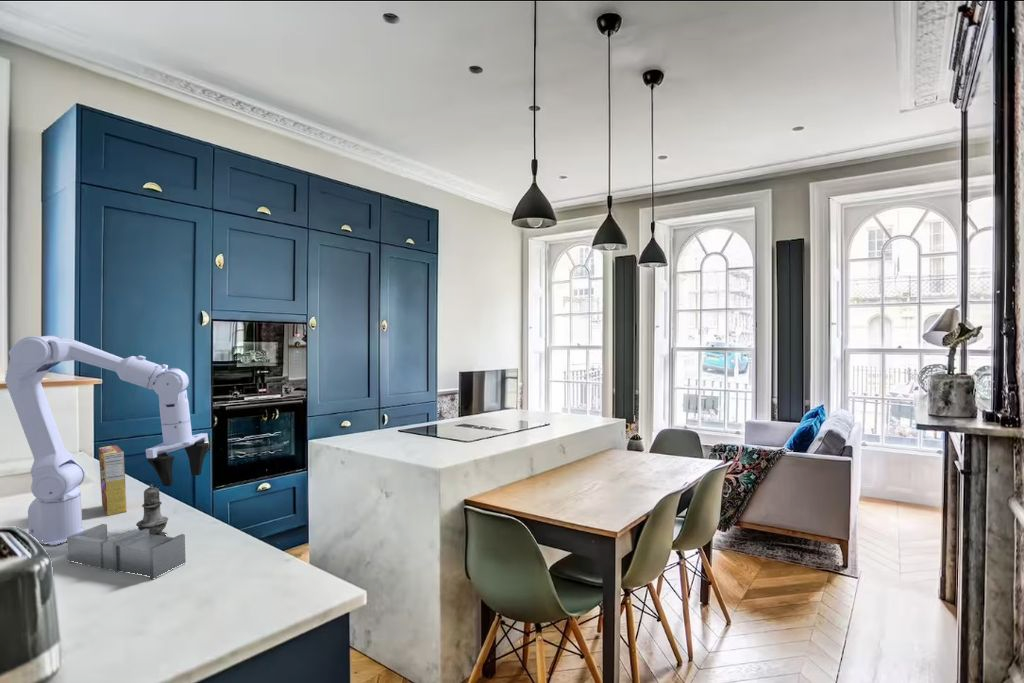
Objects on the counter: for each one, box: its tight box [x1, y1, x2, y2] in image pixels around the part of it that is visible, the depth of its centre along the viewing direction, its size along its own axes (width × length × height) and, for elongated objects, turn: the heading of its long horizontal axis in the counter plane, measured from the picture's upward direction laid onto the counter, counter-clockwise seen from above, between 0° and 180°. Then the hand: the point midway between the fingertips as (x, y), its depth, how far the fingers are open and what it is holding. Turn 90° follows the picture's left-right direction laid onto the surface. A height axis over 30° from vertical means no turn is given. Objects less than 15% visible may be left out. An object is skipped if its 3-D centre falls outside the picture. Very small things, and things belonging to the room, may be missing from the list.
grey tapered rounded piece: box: [135, 482, 169, 537], centre depth 120 cm, size 6×6×12 cm
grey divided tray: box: [66, 523, 187, 579], centre depth 108 cm, size 23×7×6 cm, turn 73°
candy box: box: [98, 445, 128, 516], centre depth 137 cm, size 9×4×15 cm, turn 44°
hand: (182, 480), depth 126 cm, fingers open, 7 cm apart
